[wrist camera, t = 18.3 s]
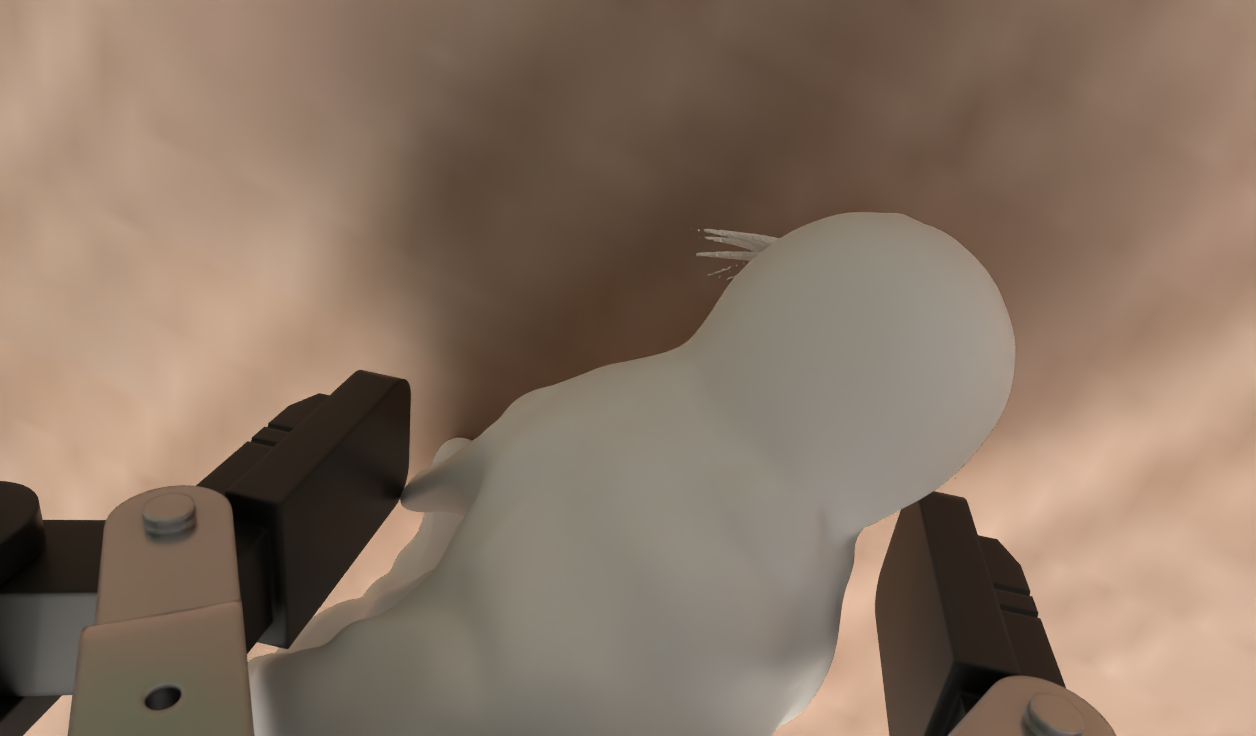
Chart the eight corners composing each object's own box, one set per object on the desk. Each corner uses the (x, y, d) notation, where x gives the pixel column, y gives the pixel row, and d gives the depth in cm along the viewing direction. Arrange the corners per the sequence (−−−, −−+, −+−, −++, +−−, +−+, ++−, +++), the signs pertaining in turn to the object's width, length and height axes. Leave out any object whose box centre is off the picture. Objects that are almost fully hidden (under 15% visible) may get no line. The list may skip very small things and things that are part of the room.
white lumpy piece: (-9, 964, 9) (836, 88, 5) (338, 540, 17) (777, 65, 13) (449, 1266, 10) (1458, 718, 6) (576, 731, 18) (1052, 342, 14)
